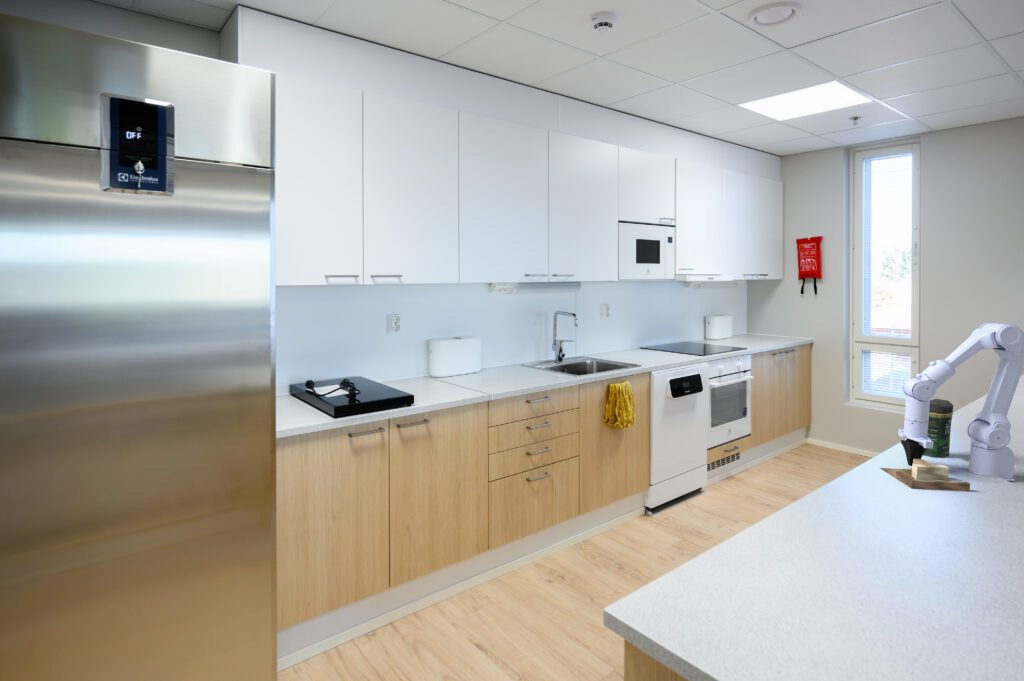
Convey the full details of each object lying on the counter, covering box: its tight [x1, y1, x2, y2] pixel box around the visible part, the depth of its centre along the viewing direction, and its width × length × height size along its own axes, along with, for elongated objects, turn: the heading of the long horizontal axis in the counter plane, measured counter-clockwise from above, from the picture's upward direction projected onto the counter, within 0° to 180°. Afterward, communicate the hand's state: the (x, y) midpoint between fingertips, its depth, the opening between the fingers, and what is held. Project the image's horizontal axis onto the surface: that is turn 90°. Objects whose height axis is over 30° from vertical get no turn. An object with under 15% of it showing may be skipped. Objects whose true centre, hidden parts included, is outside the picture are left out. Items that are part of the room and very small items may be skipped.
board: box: [879, 467, 971, 492], centre depth 159 cm, size 14×17×3 cm
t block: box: [911, 458, 950, 480], centre depth 162 cm, size 8×8×4 cm
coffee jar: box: [922, 398, 954, 459], centre depth 182 cm, size 10×8×19 cm
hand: (913, 465), depth 168 cm, fingers closed
